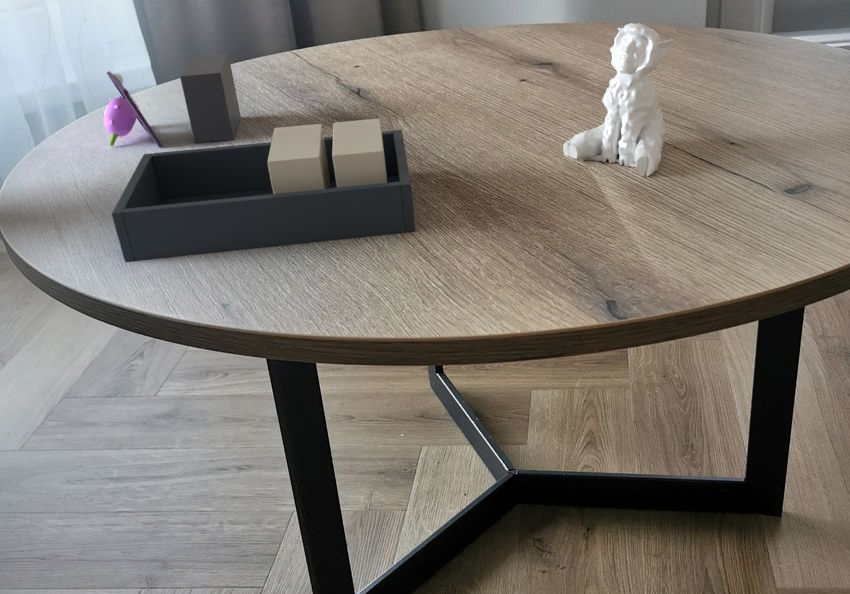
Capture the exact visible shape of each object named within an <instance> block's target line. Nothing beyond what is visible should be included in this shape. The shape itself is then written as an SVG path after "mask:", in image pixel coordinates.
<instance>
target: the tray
mask: <svg viewBox="0 0 850 594" xmlns="http://www.w3.org/2000/svg"><path fill="white" fill-rule="evenodd" d="M323 137H324V143H325V150H326V156H327V163H328V170H329V176H330V183H331V188H330V189H320V190H310V191H299V192H289V193H279V194H273V189H272V184H271V178H270V173H269V168H268V157H269V152H270V147H271V142H272V141H269V142H257V143H245V144H237V145H235V144H234V145H226V146H225V145H224V146H215V147H204V148H194V149H193V148H192V149H183V150H182V149H181V150H171V151H162V152H153V153H152V152H151V153H144V154H143V155H142V156H141V158H140V161H139V162H138V164H137V166H136V168H135V169H134V172H133V173H132V175H131V176H130V179H129V180H128V182H127V185H126V186H125V188H124V190H123V192H122V194H121V195H120V197H119V199H118V200H117V203H116V205H115V206H114V208H113V210H112V212H111V217H112V221H113V225H114V228H115V232H116V235H117V238H118V239H117V240H118V242H119V246H120V249H121V250H120V251H121V254H122V257H123V260H124V262H125V263H132V262H142V261H150V260H151V261H152V260H161V259H170V258H179V257H188V256H199V255H207V254H217V253H218V254H219V253H226V252H227V253H228V252H235V251H236V252H237V251H247V250H255V249H264V248H274V247H284V246H294V245H304V244H313V243H325V242H333V241H342V240H351V239H361V238H373V237H381V236H390V235H399V234H401V235H402V234H408V233H409V234H410V233H416V220H415V210H414V201H413V192H412V184H411V178H410V171H409V166H408V165H409V163H408V159H407V153H406V146H405V141H404V134H403V130H402V129H396V130H384V131H382V139H383V147H384V155H385V164H386V172H387V181H388V183H380V184H370V185H360V186H350V187H340V188H337V185H336V178H335V171H334V164H333V158H332V150H333V135H332V136H331V135H330V136H323Z"/></svg>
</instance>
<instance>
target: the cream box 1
mask: <svg viewBox="0 0 850 594" xmlns="http://www.w3.org/2000/svg"><path fill="white" fill-rule="evenodd" d="M324 137H325V136H324V131H323V124H322V123H313V124H303V125H301V124H300V125H293V126H282V127H281V126H280V127H274V129H273V134H272V138H271V141H270V142H271V147H270V152H269V157H268V168H269V173H270V178H271V184H272V189H273V194H279V193H289V192H299V191H310V190H320V189H330V188H331V183H330V176H329V170H328V163H327V156H326V150H325V143H324Z"/></svg>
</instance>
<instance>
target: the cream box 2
mask: <svg viewBox="0 0 850 594" xmlns="http://www.w3.org/2000/svg"><path fill="white" fill-rule="evenodd" d="M381 123H382V122H381V118H369V119H359V120H357V119H356V120H347V121H337V122H333V125H332V136H333V150H332V158H333V164H334V171H335V178H336V185H337V188H340V187H350V186H360V185H370V184H380V183H388V181H387V172H386V164H385V155H384V147H383V139H382V132H383V131H382V124H381Z"/></svg>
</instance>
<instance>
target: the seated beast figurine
mask: <svg viewBox="0 0 850 594" xmlns="http://www.w3.org/2000/svg"><path fill="white" fill-rule="evenodd" d="M617 30H618V32H617V34H616V36H615V37H614V39H613V41H614V44H613V45H612V46H610V48H609V52H610V53H611V61H610V65H611V66H612V67H613V69H614V70H615V71H616V74H615V76H614V77H612V78H610V80H609V84H608V85H609V86H608V87H607V88H606V91H605V93H604V94H603V97H602V99H601V102H602V104H603V106H604V107H605V109H606V111H607V112H606V115H605V117H604V122H603V123H602V124H600V125H599V126H597V127H593V128H590V129H589V130H587V129H586V130H584V131H580V132H579V133H576V134H574V136H573V137H571V138H570V139H569V140H567V141H566V142H564V143H563V146H562V150H563V155H564V156H566V157H570V158H572V159H574V160H579V159H582V161H583V162H586V161H596V162H602V163H606V162H607V161H608V163H609V164H613V163H619V165H620V166H623V165H624V167H632V168H636V170H637V172H638V174H639V175H640V177H650V176H652V175H653V174H655V172H657V171H659V165H660V164H661V161H662V152H663V146H664V142H665V133H666V131H667V128H666V125H665V122H664V116H663V114H662V109H661V108H660V106H659V101H658V100H659V96H658V94H657V93H658V89H657V85H656V83H654V81H653V80H652V78H651V76H650V73H652V72H653V71H655V70H657V69H658V66H659V65H660V62H661V60H662V58H665V56H667V55H668V54H669V53H670V52H671V50H672V47H673V44H674V41H675V39H674V38H673V39H672V38H670V39H667V40H661V39H660V34H659V33H657V31H656V30H655V29H653V28H651V27H648V26H647V25H646V24H642V23H640V22H637V23H633V22H630V23H626V24H625V25H624V27H619V26H618V27H617ZM618 155H619V156H618Z"/></svg>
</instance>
